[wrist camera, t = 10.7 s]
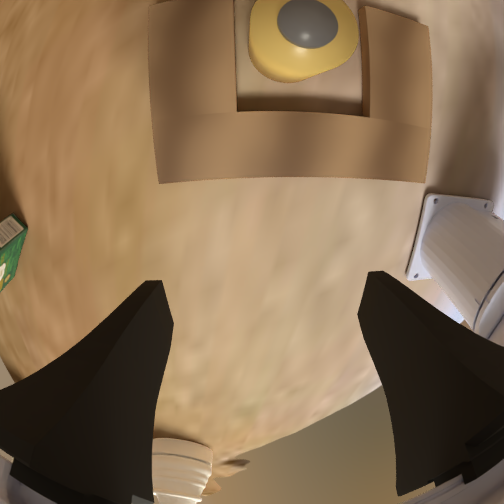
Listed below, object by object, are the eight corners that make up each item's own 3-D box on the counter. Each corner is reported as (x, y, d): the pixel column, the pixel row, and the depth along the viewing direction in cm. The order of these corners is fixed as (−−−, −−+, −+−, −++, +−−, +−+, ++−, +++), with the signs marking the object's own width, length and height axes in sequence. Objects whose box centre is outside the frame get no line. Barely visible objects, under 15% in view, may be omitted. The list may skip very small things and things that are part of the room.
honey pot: (152, 449, 45) (143, 516, 29) (147, 432, 38) (135, 515, 23) (209, 459, 46) (206, 526, 31) (216, 444, 40) (213, 528, 25)
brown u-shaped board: (419, 29, 11) (428, 26, 10) (416, 178, 17) (425, 183, 16) (154, 10, 11) (149, 5, 10) (164, 179, 17) (158, 183, 16)
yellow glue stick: (321, 23, 12) (358, -11, 6) (322, 85, 14) (363, 78, 8) (248, 18, 12) (249, -24, 6) (248, 82, 14) (250, 68, 8)
